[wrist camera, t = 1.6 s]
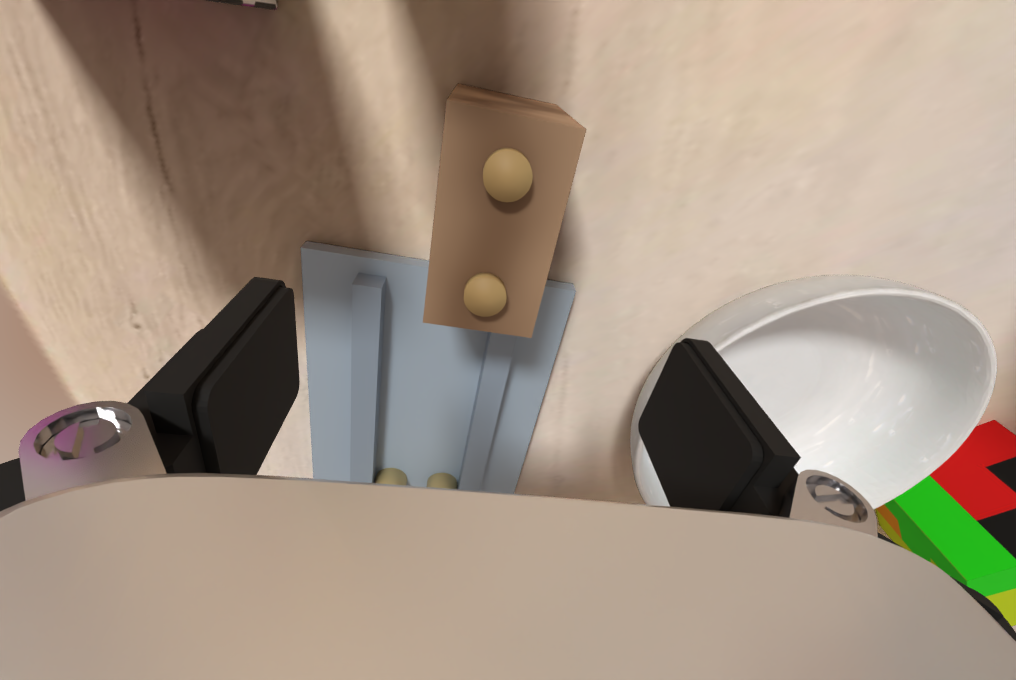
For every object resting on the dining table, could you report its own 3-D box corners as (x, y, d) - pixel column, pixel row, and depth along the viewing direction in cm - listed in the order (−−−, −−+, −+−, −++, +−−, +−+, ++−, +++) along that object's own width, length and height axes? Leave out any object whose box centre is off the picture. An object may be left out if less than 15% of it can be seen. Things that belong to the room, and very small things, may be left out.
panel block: (556, 104, 23) (589, 132, 16) (519, 267, 28) (532, 345, 20) (458, 83, 22) (445, 101, 15) (437, 253, 27) (421, 329, 20)
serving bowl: (575, 458, 37) (591, 534, 31) (677, 209, 26) (731, 255, 20) (799, 483, 40) (851, 557, 34) (975, 270, 29) (1096, 325, 23)
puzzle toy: (994, 485, 42) (1122, 597, 33) (879, 524, 44) (971, 636, 36) (993, 419, 37) (1143, 529, 28) (864, 467, 39) (966, 581, 31)
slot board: (573, 283, 28) (596, 346, 22) (510, 491, 39) (515, 570, 33) (306, 241, 26) (254, 297, 20) (317, 473, 37) (285, 555, 31)
